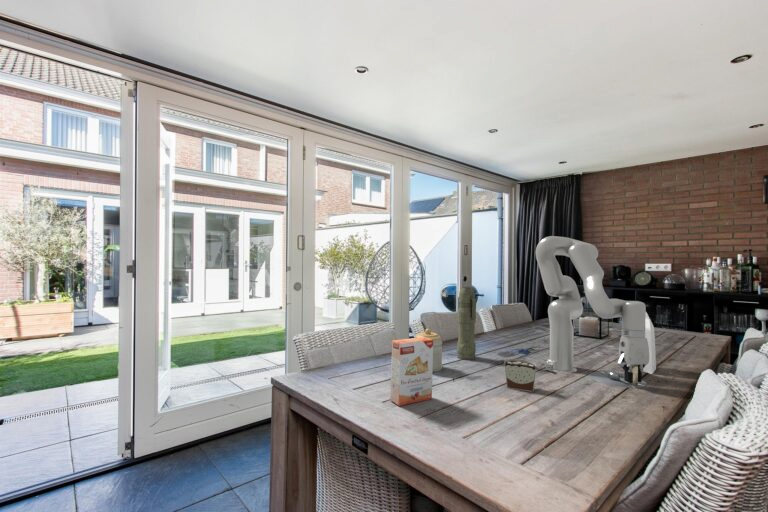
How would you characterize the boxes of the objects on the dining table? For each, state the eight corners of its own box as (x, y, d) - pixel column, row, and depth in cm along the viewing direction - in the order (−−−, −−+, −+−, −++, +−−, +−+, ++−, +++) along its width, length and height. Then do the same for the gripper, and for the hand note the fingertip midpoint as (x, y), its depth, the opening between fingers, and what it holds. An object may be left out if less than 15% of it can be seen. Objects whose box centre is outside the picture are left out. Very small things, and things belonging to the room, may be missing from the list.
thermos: (469, 361, 177) (470, 288, 177) (451, 356, 186) (452, 286, 187) (481, 358, 182) (482, 287, 182) (463, 353, 191) (464, 286, 192)
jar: (446, 367, 167) (447, 328, 167) (434, 374, 156) (435, 332, 156) (421, 362, 174) (421, 325, 174) (407, 369, 163) (408, 329, 163)
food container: (538, 387, 142) (538, 361, 142) (537, 392, 136) (537, 365, 136) (504, 382, 147) (505, 357, 147) (502, 387, 142) (503, 361, 142)
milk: (656, 368, 169) (656, 311, 169) (652, 374, 161) (652, 314, 161) (625, 363, 177) (625, 309, 178) (620, 368, 169) (620, 311, 169)
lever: (604, 375, 152) (604, 356, 152) (617, 375, 153) (617, 355, 153) (629, 386, 139) (629, 364, 139) (643, 385, 140) (643, 364, 140)
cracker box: (399, 407, 121) (400, 343, 121) (389, 401, 126) (390, 339, 126) (433, 399, 128) (434, 339, 128) (422, 393, 133) (423, 335, 134)
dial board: (610, 391, 138) (610, 387, 138) (578, 374, 158) (578, 371, 158) (660, 390, 140) (660, 386, 140) (622, 374, 160) (622, 370, 160)
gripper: (624, 336, 136) (623, 386, 136) (660, 334, 140) (659, 383, 140) (607, 332, 143) (606, 379, 143) (642, 331, 147) (641, 377, 147)
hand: (632, 381), depth 141 cm, fingers open, 3 cm apart
